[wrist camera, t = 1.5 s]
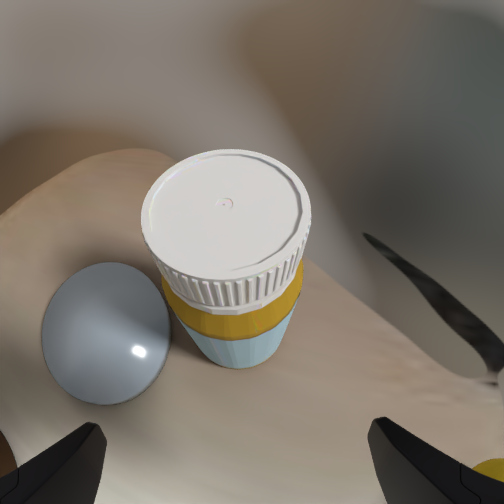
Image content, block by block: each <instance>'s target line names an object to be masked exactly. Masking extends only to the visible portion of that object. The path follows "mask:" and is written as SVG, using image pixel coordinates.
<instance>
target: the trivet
mask: <svg viewBox="0 0 504 504" xmlns="http://www.w3.org/2000/svg"><path fill="white" fill-rule="evenodd" d="M170 343H171V320H170V316H169V311H168V308H167V306H166V303H165V301H164V299H163V297H162V295H161V294H160V292H159V291H158V289H157V288H156V286H155V285H154V284H153V282H152V281H151V280H150V279H149V278H148V277H147V276H146V275H145V274H143V273H142V272H141V271H139V270H137V269H136V268H134V267H132V266H129V265H126V264H122V263H116V262H104V263H98V264H94V265H91V266H88V267H86V268H84V269H82V270H80V271H78V272H77V273H75V274H74V275H72V276H71V277H70V278H68V279H67V280H66V281H65V282H64V283H63V284H62V286H61V287H60V288H59V289H58V290H57V292H56V293H55V295H54V296H53V298H52V300H51V302H50V304H49V306H48V309H47V311H46V314H45V318H44V322H43V328H42V347H43V353H44V357H45V361H46V363H47V366H48V368H49V370H50V372H51V374H52V376H53V377H54V379H55V380H56V381H57V383H58V384H59V385H60V386H61V387H62V388H63V389H64V390H65V391H66V392H68V393H69V394H70V395H72V396H74V397H75V398H77V399H79V400H82V401H85V402H89V403H94V404H100V405H114V404H120V403H123V402H126V401H129V400H131V399H133V398H135V397H137V396H138V395H140V394H141V393H143V392H144V391H145V390H146V389H147V388H148V387H149V386H150V385H151V384H152V383H153V382H154V381H155V379H156V378H157V377H158V375H159V374H160V372H161V370H162V369H163V366H164V364H165V362H166V360H167V356H168V353H169V349H170Z"/></svg>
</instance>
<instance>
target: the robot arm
mask: <svg viewBox="0 0 504 504" xmlns="http://www.w3.org/2000/svg"><path fill="white" fill-rule="evenodd" d="M368 443H369V447H370V451H371V455H372V459H373V463H374V467H375V471H376V475H377V478H378V480H379V483H380V485H381V488H382V491H383V493H384V496H385V499H386V501H387V504H504V482H502V481H499V480H496V479H494V478H491V477H488V476H486V475H484V474H481V473H479V472H477V471H475V470H473V469H471V468H469V467H467V466H465V465H464V464H462V463H459V462H458V461H456V460H455V459H453V458H451V457H450V456H448V455H446V454H444V453H443V452H441V451H439V450H438V449H436V448H434V447H433V446H431V445H429V444H428V443H426V442H425V441H423V440H421V439H420V438H418V437H416V436H415V435H413V434H412V433H410V432H409V431H407V430H405V429H404V428H402V427H401V426H399V425H398V424H396V423H395V422H393V421H392V420H390V419H388V418H387V417H380V418H376V419H374V420H373V421H372V424H371V426H370V429H369V432H368ZM106 446H107V440H106V437H105V436H104V434H103V432H102V430H101V428H100V426H99V425H98V424H96V423H91V422H86V423H85V424H83V425H82V426H80V427H79V428H77V429H76V430H74V431H73V432H72V433H70V434H69V435H67V436H66V437H64V438H63V439H61V440H60V441H58V442H57V443H55V444H54V445H52V446H51V447H49V448H48V449H46V450H45V451H43V452H41V453H40V454H38V455H37V456H35V457H34V458H32V459H31V460H29V461H27V462H26V463H24V464H23V465H21V466H20V467H18V468H16V469H15V470H13V471H11V472H10V473H8V474H6V475H4V476H3V477H0V504H94V501H95V497H96V494H97V490H98V487H99V483H100V479H101V475H102V469H103V463H104V457H105V451H106Z"/></svg>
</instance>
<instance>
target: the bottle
mask: <svg viewBox="0 0 504 504" xmlns="http://www.w3.org/2000/svg"><path fill="white" fill-rule="evenodd" d="M310 221H311V207H310V200H309V197H308V194H307V191H306V189H305V187H304V185H303V184H302V182H301V180H300V179H299V178H298V177H297V175H296V174H295V173H294V172H293V171H291V170H290V169H289V168H288V167H287V166H285V165H284V164H282V163H281V162H279V161H277V160H275V159H273V158H271V157H269V156H266V155H263V154H260V153H256V152H253V151H247V150H238V149H224V150H214V151H209V152H204V153H201V154H197V155H195V156H192V157H189V158H187V159H185V160H183V161H181V162H179V163H177V164H176V165H174V166H172V167H171V168H170V169H168V170H167V171H166V172H165V173H163V174H162V175H161V176H160V177H159V178H158V179H157V181H156V182H155V183H154V184H153V186H152V187H151V189H150V190H149V192H148V194H147V196H146V198H145V200H144V203H143V207H142V212H141V229H142V231H143V233H142V235H143V238H144V240H145V241H144V242H145V244H146V246H147V248H148V250H149V252H150V254H151V256H152V257H153V259H154V261H155V263H156V265H157V267H158V269H159V270H160V272H161V274H162V278H161V282H162V287H163V290H164V293H165V296H166V299H167V301H168V303H169V305H170V307H171V309H172V310H173V312H174V313H175V315H176V316H177V318H178V319H179V321H180V322H181V323H182V325H183V326H184V328H185V329H186V330H187V332H188V333H189V335H190V336H191V337H192V339H193V340H194V342H195V343H196V344H197V346H198V347H199V348H200V350H201V351H202V352H203V353H204V354H205V355H206V356H207V357H208V358H209V359H210V360H211V361H213V362H215V363H216V364H218V365H220V366H222V367H225V368H230V369H237V370H240V369H248V368H252V367H255V366H257V365H259V364H261V363H263V362H265V361H266V360H267V359H268V358H269V357H270V356H271V355H272V354H273V353H274V352H275V351H276V349H277V348H278V346H279V344H280V342H281V340H282V337H283V335H284V332H285V330H286V328H287V325H288V323H289V320H290V318H291V315H292V312H293V310H294V307H295V305H296V302H297V300H298V297H299V294H300V291H301V287H302V280H303V263H302V259H301V257H302V254H303V251H304V247H305V243H306V240H307V236H308V233H309V229H310V225H311V222H310Z"/></svg>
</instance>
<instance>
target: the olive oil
mask: <svg viewBox="0 0 504 504" xmlns="http://www.w3.org/2000/svg"><path fill="white" fill-rule="evenodd" d="M16 468H17V465H16V462H15V459H14V456H13V453H12V451H11V448H10V446H9V444H8V442H7V441H6V439H5V437H4V436H3V434H2V433H1V432H0V477H3V476H4V475H6V474H8V473H10V472H11V471H13V470H15V469H16Z"/></svg>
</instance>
